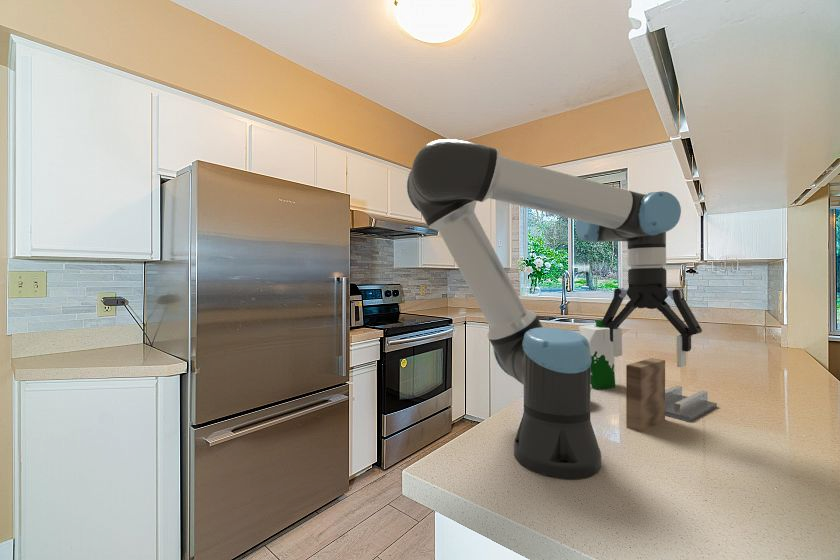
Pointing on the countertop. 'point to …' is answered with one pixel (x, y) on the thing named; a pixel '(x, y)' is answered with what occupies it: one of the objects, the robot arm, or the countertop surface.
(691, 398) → the track
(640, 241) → the robot arm
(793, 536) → the countertop surface
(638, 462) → the countertop surface
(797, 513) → the countertop surface
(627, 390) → the door panel
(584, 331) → the milk carton
